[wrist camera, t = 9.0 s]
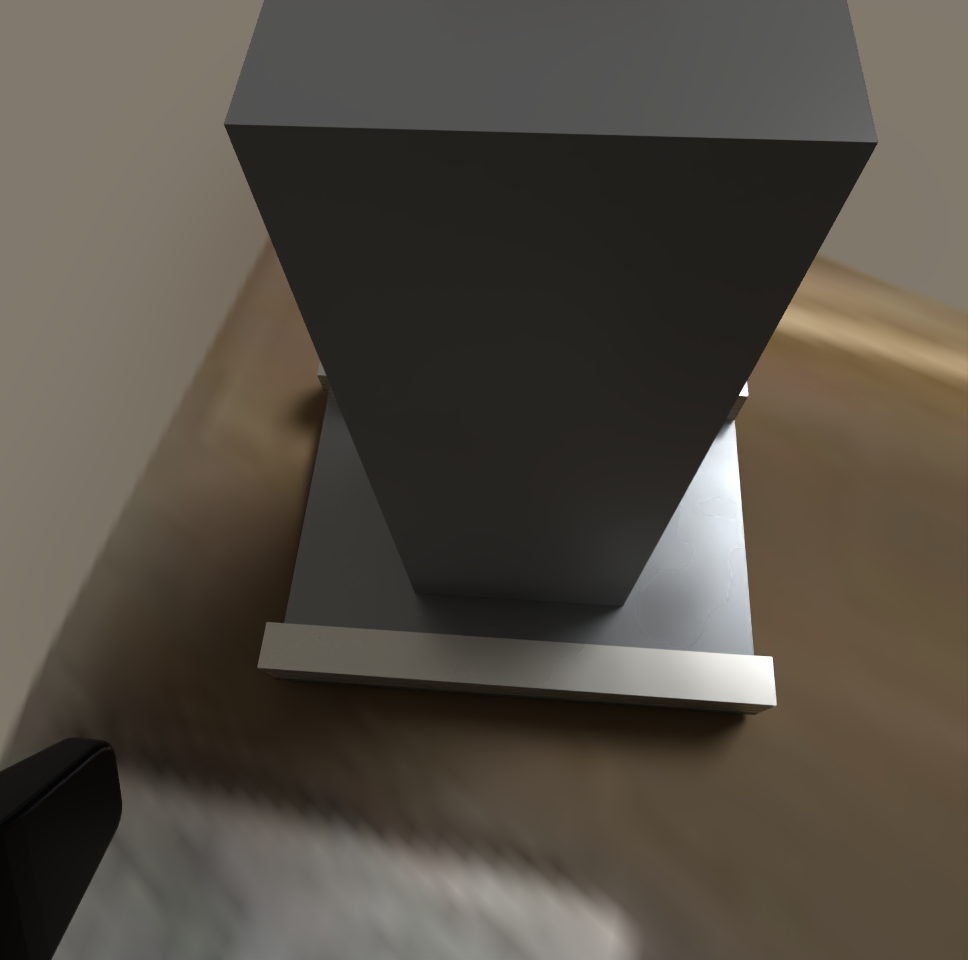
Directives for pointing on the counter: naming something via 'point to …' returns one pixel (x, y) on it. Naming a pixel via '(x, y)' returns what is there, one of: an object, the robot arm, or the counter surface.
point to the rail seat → (523, 607)
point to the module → (544, 251)
